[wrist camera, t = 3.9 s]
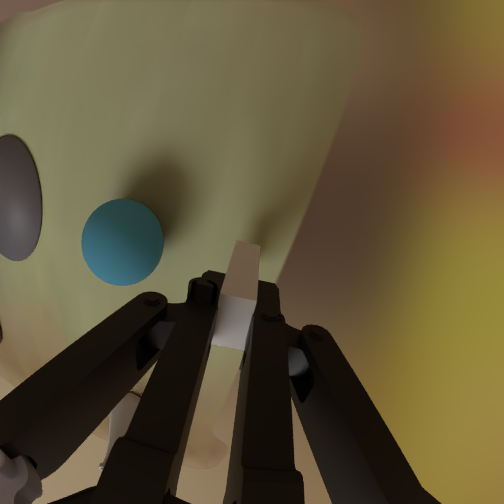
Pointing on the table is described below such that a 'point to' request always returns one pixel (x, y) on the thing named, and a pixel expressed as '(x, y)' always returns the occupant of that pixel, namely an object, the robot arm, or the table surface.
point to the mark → (18, 200)
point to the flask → (120, 420)
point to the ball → (122, 242)
